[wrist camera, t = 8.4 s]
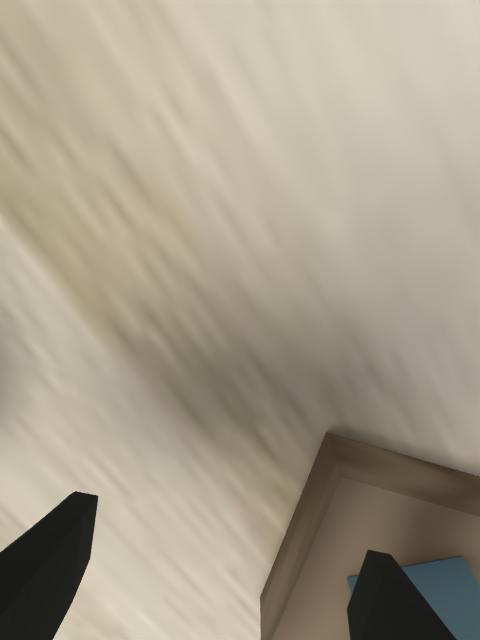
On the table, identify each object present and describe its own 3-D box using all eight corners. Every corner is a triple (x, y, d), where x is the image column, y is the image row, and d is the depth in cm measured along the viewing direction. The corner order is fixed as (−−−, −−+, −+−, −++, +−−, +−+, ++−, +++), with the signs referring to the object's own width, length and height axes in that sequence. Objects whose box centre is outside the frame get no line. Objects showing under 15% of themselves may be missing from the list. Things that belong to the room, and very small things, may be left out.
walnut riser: (524, 486, 21) (586, 547, 17) (437, 639, 23) (474, 722, 20) (324, 427, 20) (341, 476, 16) (260, 590, 23) (261, 665, 19)
